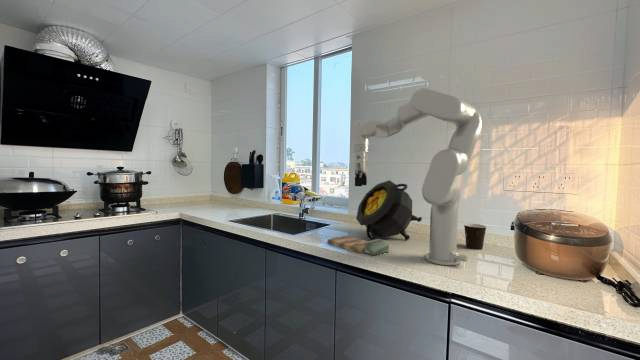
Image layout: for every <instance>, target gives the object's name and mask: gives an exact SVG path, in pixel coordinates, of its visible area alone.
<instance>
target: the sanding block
mask: <svg viewBox="0 0 640 360" xmlns="http://www.w3.org/2000/svg"><path fill="white" fill-rule="evenodd" d="M366 241H367V242H365V253H364V254H365V255H367V254H368V256H370V255H371V256H370V257H373V256H375V257H377V255H378V256H381V255H380V254H382V255H385V254H384V253H386V254H389V250H390V249H389V244H390V241H389V240H386V239H382V238H376V239H371V240H369V241H368V240H366Z"/></svg>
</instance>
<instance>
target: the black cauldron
mask: <svg viewBox="0 0 640 360" xmlns="http://www.w3.org/2000/svg"><path fill="white" fill-rule="evenodd" d="M400 187H401V188H400ZM407 189H408V184H406V183H398V184H396V183H395V182H393V181H391V180H389V179H388V180H386V181H383V182H380V183H377V184H375V185H374V186H373V187H372V188H370V190H369V191H367V192H366V193H365V195H364V197H363V198H362V199H361V202H360V203H359V204H358V208H357V213H356V220H357V222H358V223H359V224H360V226H365V228H366V229H365V230H366V236H367V238H368V239H369V241H371V240H375V237H377V238H387V237H390V238H391V237H395V236H398V235H401V236H402V237H403V238H404V240H405V241H408V240H410V235H408V234H407V232H406V230H407V228H408V227H409V225H410V223H411V222H412V221H417V222H418V223H420V222H422V219H423V217H422V216H420V217H417V216H416V215H414V214H413V200H412V198H411V195H409V193H407V192H406V190H407ZM370 234H371V235H370Z"/></svg>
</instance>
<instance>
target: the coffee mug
mask: <svg viewBox="0 0 640 360" xmlns="http://www.w3.org/2000/svg"><path fill="white" fill-rule="evenodd" d="M486 232H487V225H484V224H480V223H464V237H465V245H466V248H467V249H469V250H475V251H478V250H480V251H482V250H483V247H484V244H485V243H484V242H485V237H486Z"/></svg>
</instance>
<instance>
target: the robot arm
mask: <svg viewBox="0 0 640 360" xmlns="http://www.w3.org/2000/svg"><path fill="white" fill-rule="evenodd" d="M396 113H397V114H396V115H395V116H394V117H392V118H389V119H388V120H386V121H381V120H377V119H376V120H375V119H369V120H366V121H362V122H361V121H359V122H355V123H354V124H353V140H352V141H353V142H352V143H353V144H352V145H353V146H352V151H353V153H354V163H353V164H354V167H353V171H354V187H362V186H367V183H368V179H367V178H368V177H367V176H368V173H370V171H369V170H370V167H369V165H370V164H369V153H370V138H376V139H387V138H389V137H392V136H395V135H396V134H399V133H400V132H401V131H403V130H405V129H406V127H407V126H409V125H411V124H414V123H416V122H418V121H420V120H423V119H424V118H427V117H433V118H435V119H438V120H441V121H444V122H446V123H449V124H451V125H452V124H453V125H455V130H454V131H453V133H452V135H451V137H450V140H449V142H448V144H447V145H448V146H447V148H445V149H442V150H440V151H438V152H437V153H436V154H434V156H433V157H432V159H431V162H430V164H429V167H428V169H427V172H426V176H425V177H424V180H423V183H422V187H421V195H422V198H423V200H424V201H425V202H427V204H430V205H431V207H430V214H429V215H430V219H429V220H430V221H429V253H426V254H425V256H424V259H425V260H426V261H427V262H429V263H432V264H434V265H435V264H437V265H441V266H457V265H460V264H461V263H462V262H463V263H467V262H468V260H469V258H468V256H467V255H466V254H462V253H460V249H458V248H457V246H458V218H459V205H460V204H459V203H460V199H461V188H460V185H459V183H457V182H456V180H455V179H456V177H457V176H461V175H463V174H464V173H465V172H466V171H467V169H468V167H469V164H470V161H471V158H472V155H473V153H474V150H475V147H476V144H477V142H478V139H479V137H480V134H481V131H482V128H483V127H482V126H483V122H482V116H481V114H480V112H479V111H478V110H477V109H476V108H475V107H474V106H473V105H472V104H470V103H468V102H466V101H464V100H462V99H461V98H458V97H457V96H453V95H450V94H447V93H444V92H440V91H438V90H437V91H436V90H433V89H431V88H428V87H427V88H426V87H423V88H419V89H417V90H416V91H414V92H413V93H412V95H411V97H410V101H408V102H406V103H404V104H401V105H399V106H398V108H397V111H396Z"/></svg>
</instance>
